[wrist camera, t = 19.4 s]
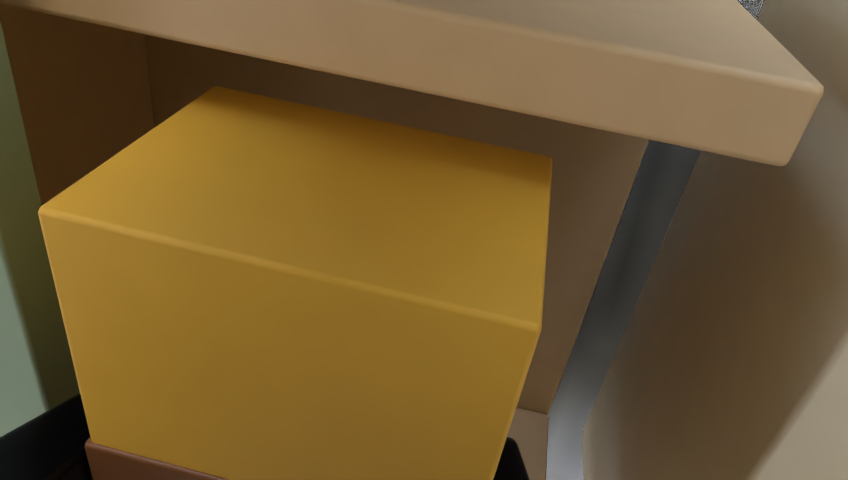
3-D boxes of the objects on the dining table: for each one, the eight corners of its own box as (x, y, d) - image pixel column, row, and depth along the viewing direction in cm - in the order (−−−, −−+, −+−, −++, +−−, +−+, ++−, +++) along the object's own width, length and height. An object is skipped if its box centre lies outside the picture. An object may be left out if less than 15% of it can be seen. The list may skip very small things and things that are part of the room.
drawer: (1238, 15, 10) (2129, 250, 4) (839, 495, 16) (975, 831, 11) (118, -184, 11) (-322, -206, 6) (172, 328, 18) (-7, 546, 12)
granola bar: (558, 153, 7) (550, 335, 5) (446, 550, 12) (409, 755, 9) (211, 81, 7) (21, 210, 5) (232, 492, 12) (138, 672, 9)
